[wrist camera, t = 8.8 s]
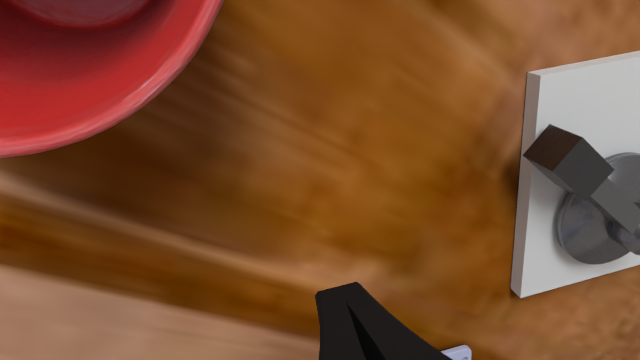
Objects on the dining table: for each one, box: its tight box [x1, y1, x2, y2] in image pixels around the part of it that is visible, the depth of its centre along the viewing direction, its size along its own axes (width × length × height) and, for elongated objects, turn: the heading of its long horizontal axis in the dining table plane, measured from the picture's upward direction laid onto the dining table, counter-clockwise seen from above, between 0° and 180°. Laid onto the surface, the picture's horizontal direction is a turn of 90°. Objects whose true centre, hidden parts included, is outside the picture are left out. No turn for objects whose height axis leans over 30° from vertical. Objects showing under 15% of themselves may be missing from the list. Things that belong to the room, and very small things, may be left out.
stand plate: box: [511, 51, 640, 298], centre depth 26 cm, size 14×14×1 cm
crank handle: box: [523, 124, 640, 265], centre depth 24 cm, size 11×7×2 cm, turn 52°
